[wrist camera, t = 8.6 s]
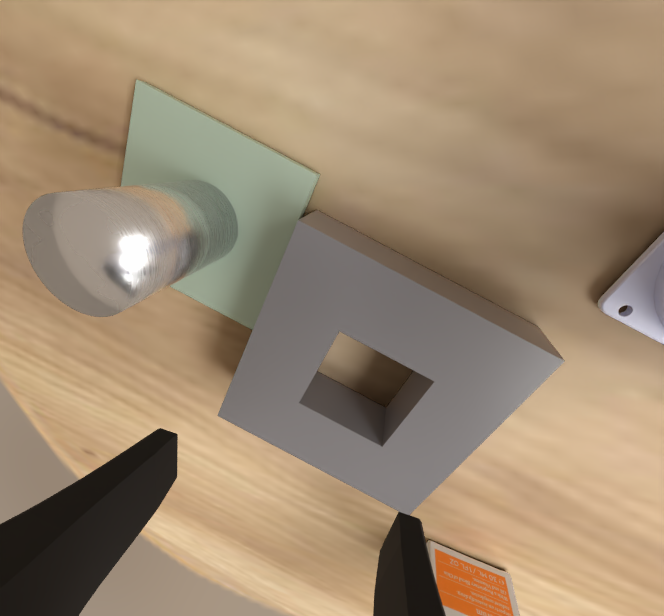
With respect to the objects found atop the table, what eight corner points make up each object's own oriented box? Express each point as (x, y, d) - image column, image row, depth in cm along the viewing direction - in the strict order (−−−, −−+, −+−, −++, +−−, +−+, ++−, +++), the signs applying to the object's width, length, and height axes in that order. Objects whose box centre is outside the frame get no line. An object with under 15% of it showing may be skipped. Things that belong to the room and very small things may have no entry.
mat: (320, 174, 15) (317, 175, 15) (257, 325, 19) (252, 330, 19) (145, 82, 15) (136, 79, 15) (119, 252, 19) (110, 255, 19)
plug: (253, 219, 16) (156, 257, 10) (212, 276, 18) (108, 338, 12) (187, 161, 16) (42, 161, 10) (152, 224, 18) (9, 260, 11)
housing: (539, 327, 16) (564, 361, 13) (408, 471, 21) (408, 516, 19) (316, 209, 16) (298, 220, 13) (241, 383, 21) (217, 415, 19)
